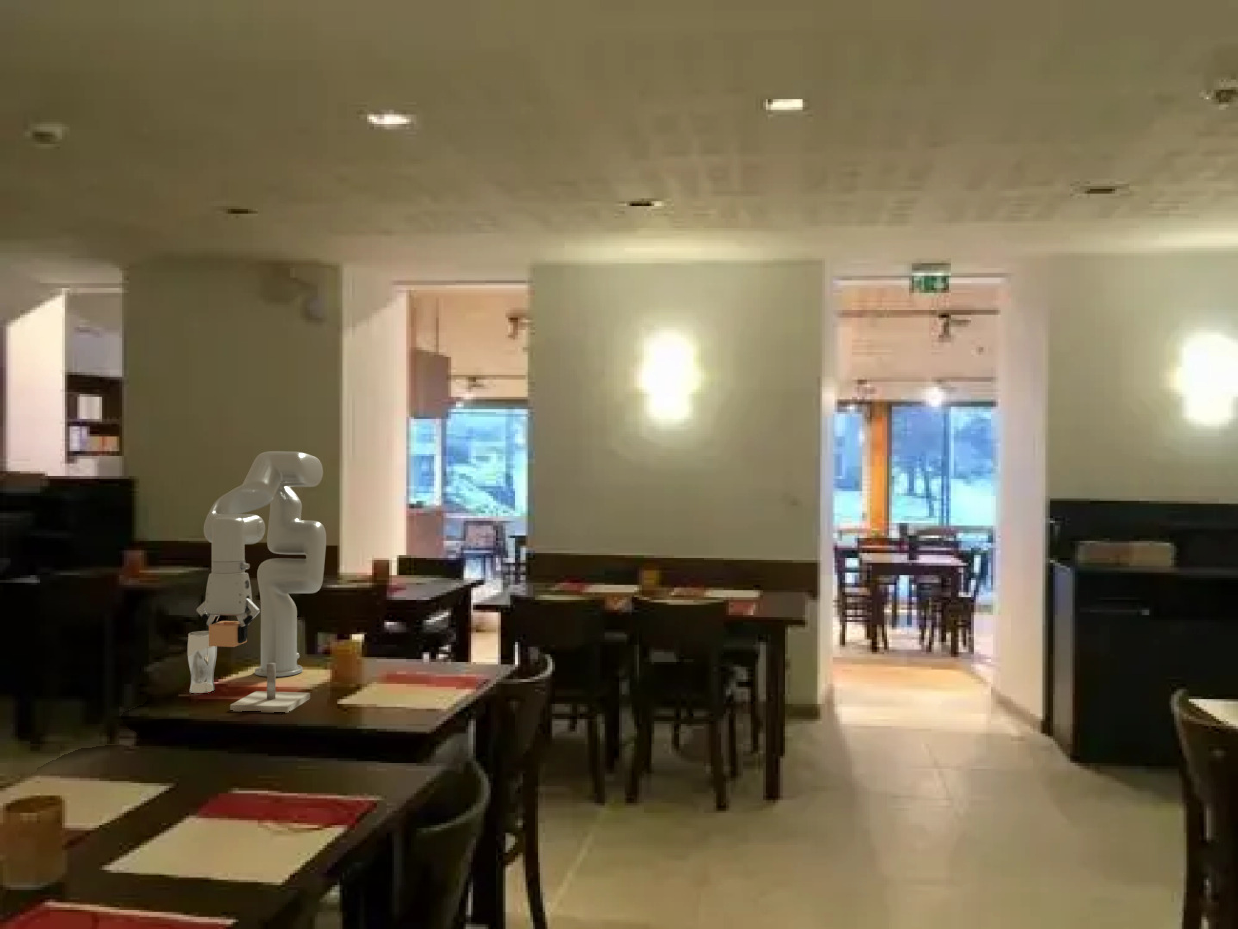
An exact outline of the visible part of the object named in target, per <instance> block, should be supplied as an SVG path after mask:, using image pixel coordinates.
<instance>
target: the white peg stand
mask: <svg viewBox="0 0 1238 929" xmlns="http://www.w3.org/2000/svg"><path fill="white" fill-rule="evenodd" d="M276 678H277V677H276V663H268V664H267V677H266V691H265V690H264V691H263V690H262V691H261V690H256V691H254V692H252V693H250V694H248V695H246V696H244V697H242V698H240V699H237V701H235V702H233V703H231V704H230V705H229V711H230V710H233V711H232V712H242V711H261V712H260V713H274V712H285V714H288V713H290V712H292V711H293V710H295V709H296V708H298V707H299V706H301V705H303V704H305V703H306V702H307V701H310V699H311V693H310V692H300V691H299V692H294V691H293V692H292V691H291V692H290V691H277V690H276V689H277V688H276V687H277V686H276V684H277V683H276V680H277V679H276ZM289 711H290V712H289Z"/></svg>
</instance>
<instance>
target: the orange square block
mask: <svg viewBox="0 0 1238 929" xmlns="http://www.w3.org/2000/svg"><path fill="white" fill-rule="evenodd" d="M239 626H240V624H239V622H238V620H221V621H217V623H214V624H211V625H209V626H208V631H209V646H217V647H223V648H225V647H227V648H235V647H237V646H240V645H242V644H245V643H247V642H248V638H247V639H246V641H245V642H243V643H238V627H239Z"/></svg>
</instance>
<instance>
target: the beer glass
mask: <svg viewBox="0 0 1238 929" xmlns="http://www.w3.org/2000/svg"><path fill="white" fill-rule="evenodd" d="M187 635H188V637H187V638H188V639H187V661H188V666H189V671H190V685H189V686H190V687H189V690H188V691H189V694H191V693H208V692H211V691H214V690H215V691H216V687H215V683H214V682H215V681H214V672H215V667H216V661H217V655H218V653H217V652H218V646H209V630H201V631H200V630H199V631H192V632H189V633H188V634H187ZM215 691H214V692H215ZM208 694H209V693H208Z"/></svg>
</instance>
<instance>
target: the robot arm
mask: <svg viewBox="0 0 1238 929" xmlns="http://www.w3.org/2000/svg"><path fill="white" fill-rule="evenodd" d="M323 468H324V467H323V464H322V462H321V461H320V459H319V458H318V457H317V456H313V455H311V454H308V453H306V452H302V451H282V450H278V451H277V450H274V451H273V450H271V451H264V452H262V453H259V454H258V455H257V456H256V457H255V458H254V461H253V462H252V464H251V466H250V469H249V471H248V473H247V474H246V477H245V479H244V480H243V483H242V484H241V485H239V486H237V487H235V488H233V489H231V490H230V491H228V492H227V493H225V494H223V495H221V496H220V497H218V499H216V500H215V501H214V503H213V504H212V506H211V507H210V509H209V511H208V513H207V515H206V518H205V521H204V524H203V534H204V537H205V539H206V540H207V541H208V542H209V543H211V573H209V574H208V578H207V583H206V587H205V588H206V591H205V599H204V601H203V602H202V603H201V604H200V605H199V606H198V607H197V608H196V612H197V613H198V614H199V615H200V617H201V618H202V620H203V621H204V622H205V623H206V625H207V626H208V627H209V625H211V624H214V623H217V622H219V621H218V620H219V618H220V616H236V618H237V621H238V622H239V624H240V626H239V627H238V643H243V642H245V641H246V639H247V640H248V635H249V634H248V631H249V630H248V626H249V625H250V624H251V623H252V621H253V620H254V619H255V618H256V617H257V616H258V615H259V614H260V666H258V667H256V668H255V669H254V675H257V676H259V677H266V678H267V664H268V663H276V678H277V677H279V678H280V677H288V676H294V675H298V674H301V673H302V672H303V671H304V670H303V666H302V665H300V664H298V659H299V658H300V657H301V656H300V653H299V652H298V643H297V642H298V617H297V616H298V610H297V609H298V608H297V606H296V603H295V601H294V600H293V599H292V597H291V596H290V594H315V593H317V592H318V591H320V589H321V588H322V586H323V581H324V573H325V560H326V551H327V549H326V548H327V532H326V529H325V526H324V524H322V523H321V522H320V521H317V520H302V510H303V505H302V501H301V499H300V498H299V496H298V495H297V494H296V492H295V490H293V488H314V487H317V486H318V485H320V483H321V482H322V479H323V476H324V469H323ZM269 505H270V506H269ZM266 506H269V516H268V517H269V518H268V526H267V537H266V544H267V549H268V551H270V552H271V553H273V554H277V555H304V556H305V557H306V558H286V557H285V558H281V557H280V558H278V557H277V558H276V557H275V558H269V559H266V560H264V561H263V562H261V563H260V564H259V566H258V569H257V573H256V577H257V584H258V591H259V597H260V598H259V599H260V608H259V607H258V606H257V605H256V604H255V603H254V602H253V595H252V586H251V581H250V580H251V579H250V575H249V573H248V572H245V571H246V570H249V569H250V567H251V564H250V563H247V562H246V559H245V558H246V557H245V556H246V553H245V551H246V550H245V547H246V546H245V545H254V544H257V543H259V542H260V541H261V540H262V539H263V538H264V536H265V533H266V523H265V521H264V520H263V518H262V517H261V516H259V515H257V514H252V513H248V512H252V511H256V510H259V509H262V508H264V507H266ZM247 613H249V614H247ZM245 643H246V642H245ZM243 644H244V643H243Z"/></svg>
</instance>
